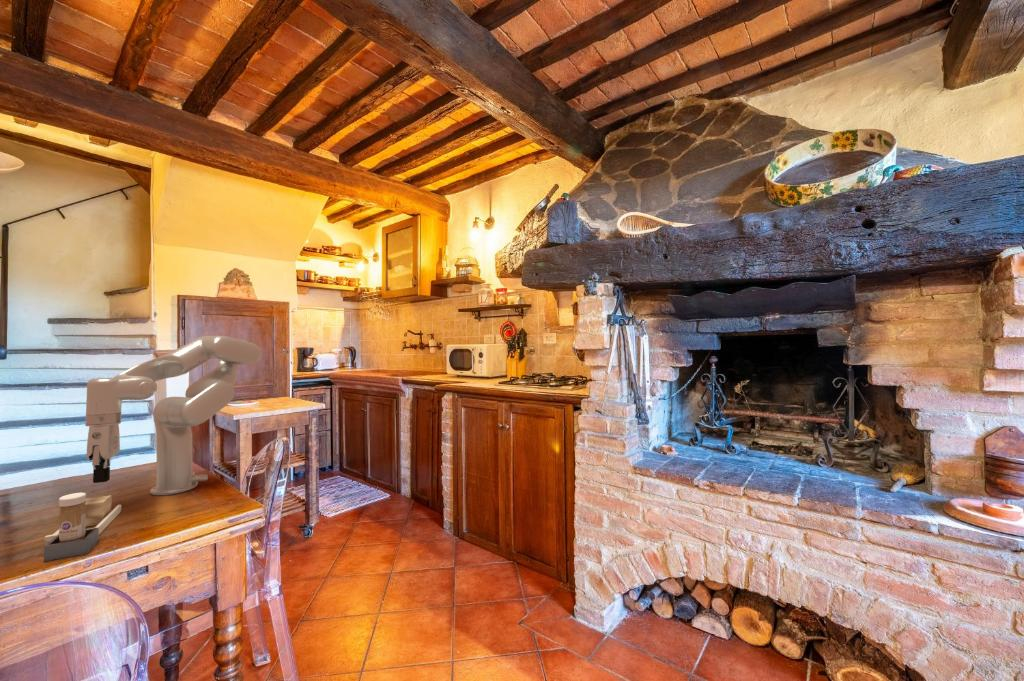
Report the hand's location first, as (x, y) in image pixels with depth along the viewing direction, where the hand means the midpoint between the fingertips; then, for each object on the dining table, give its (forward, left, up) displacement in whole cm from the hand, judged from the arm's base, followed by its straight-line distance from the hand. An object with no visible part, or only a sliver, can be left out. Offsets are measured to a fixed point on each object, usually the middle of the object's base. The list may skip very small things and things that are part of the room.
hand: (101, 481), depth 123 cm
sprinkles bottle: (-3, +27, -9) cm, 28 cm away
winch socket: (-3, +27, -9) cm, 29 cm away
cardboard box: (-1, +8, -9) cm, 12 cm away
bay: (-1, +12, -9) cm, 15 cm away
